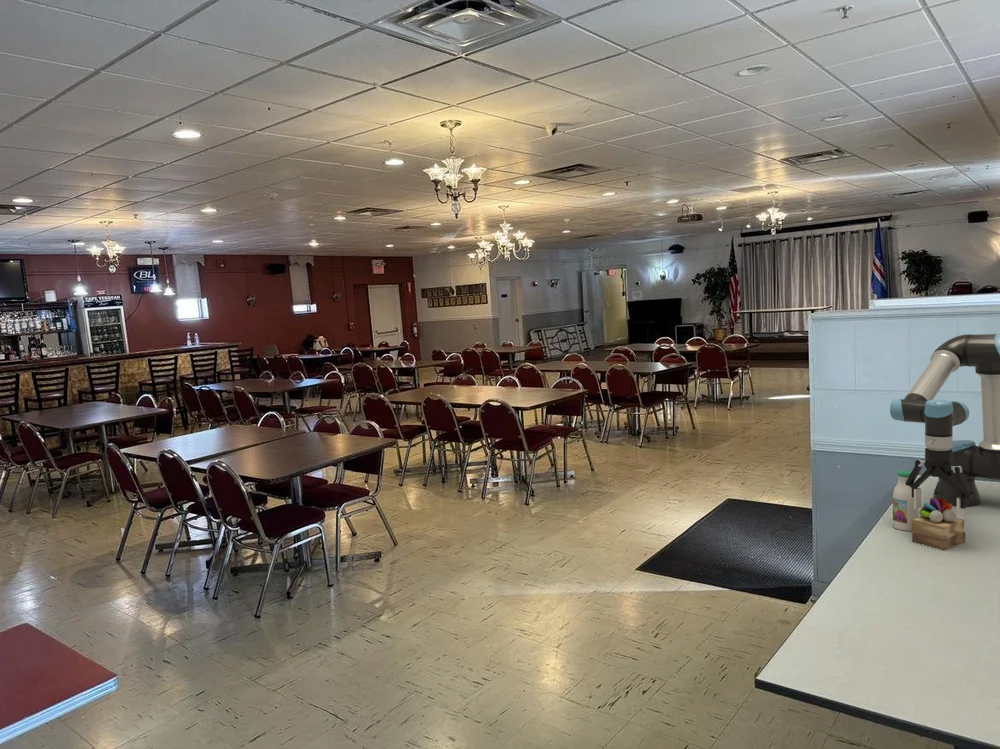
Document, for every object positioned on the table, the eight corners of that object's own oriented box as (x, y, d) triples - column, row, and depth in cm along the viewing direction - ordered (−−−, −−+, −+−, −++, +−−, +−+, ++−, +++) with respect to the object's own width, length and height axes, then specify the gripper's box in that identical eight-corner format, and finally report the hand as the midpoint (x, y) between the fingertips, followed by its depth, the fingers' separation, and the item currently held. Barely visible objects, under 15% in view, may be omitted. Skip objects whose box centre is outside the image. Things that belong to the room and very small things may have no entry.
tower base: (933, 535, 234) (933, 524, 234) (965, 544, 225) (965, 532, 225) (912, 543, 228) (912, 531, 228) (943, 552, 220) (943, 539, 219)
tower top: (932, 524, 234) (932, 512, 233) (964, 531, 225) (964, 519, 225) (911, 531, 228) (911, 519, 228) (943, 539, 219) (943, 527, 219)
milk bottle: (911, 524, 245) (911, 468, 243) (922, 531, 237) (922, 473, 235) (888, 524, 246) (888, 469, 244) (898, 531, 238) (898, 474, 236)
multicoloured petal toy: (960, 522, 222) (960, 500, 221) (930, 524, 222) (930, 502, 221) (943, 514, 231) (943, 493, 230) (914, 516, 231) (914, 495, 230)
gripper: (893, 444, 233) (893, 506, 235) (973, 456, 211) (972, 524, 213) (907, 441, 237) (907, 502, 239) (987, 452, 215) (986, 519, 217)
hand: (938, 512), depth 226 cm, fingers open, 13 cm apart
